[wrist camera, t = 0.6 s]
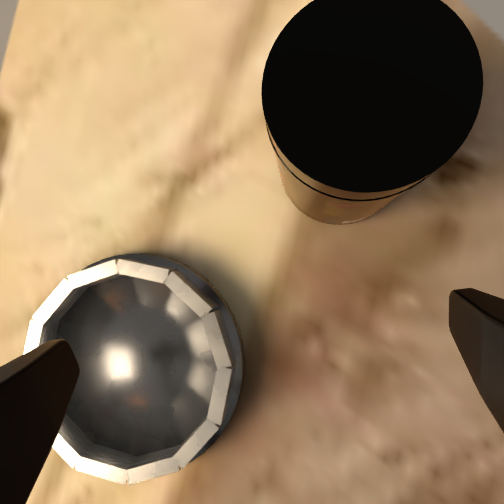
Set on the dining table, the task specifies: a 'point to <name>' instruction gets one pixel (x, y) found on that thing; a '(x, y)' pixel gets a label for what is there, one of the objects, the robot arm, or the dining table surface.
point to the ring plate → (142, 365)
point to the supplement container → (367, 101)
